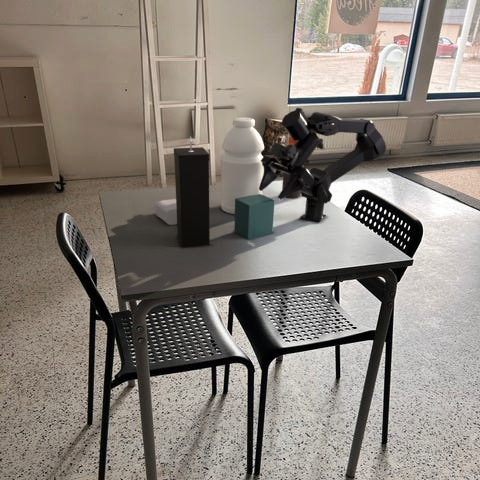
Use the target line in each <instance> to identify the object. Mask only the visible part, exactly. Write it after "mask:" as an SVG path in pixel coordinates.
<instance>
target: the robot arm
mask: <svg viewBox="0 0 480 480" xmlns="http://www.w3.org/2000/svg"><path fill="white" fill-rule="evenodd" d="M281 125H282V127H283V128H284V129H285V132H287V134H288V136H289V137H291V138H292V139H293V140H297V141H296V143H295V144H294V145H289V144H287V145H286V146H285V145H283V144H280V143H277V142H273V143H272V146H271V148H270V151H269V154H265V155H263V158H262V160H261V162H262V166H263V167H264V174H263V177H262V180H261V183H260V186H259V190H260V191H262V190H263V191H264V190H266V188H267V187H268V186H269V185H271V184H272V183H273V182H274V181H275V180H276V179H277V178H278V175H280V174H281V173H283V172H284V173H286V174H289V175H290V176H289V181H288V182H287V184H286V185H285V187H284V188H283V190H282V189H281V191H280V193H279V195H278V199H279V200H283V199H284V198H287V197H286V196H288V195H290V194H292V193H294V192H296V191H299V190H300V192H301V195H300V197H302V198H305V199H306V201H305V210H304V214H302V216H300V219H301V220H307V221H311V222H316V223H321V222H322V221H323V220H324V219H325V218H326V217H327V214H324V208H325V204H328V203H330V202H331V200H332V198H333V194H332V192H331V191H330V189H331V185H332V184H333V183H335V182H336V181H337V180H338V179H340V178H341V177H343V176H345V175H346V174H347V173H349V172H351V171H352V170H354V169H356V168H357V167H358V166H359V165H362V164H364V163H365V162H372V161H375V160H378V159H380V158H382V157H383V156H384V154H385V152H386V150H387V146H386V141H385V140H384V137H383V135H382V134H381V133H380V131H379V130H378V129H377V127H376V125H375V123H374V122H373V121H372V120H369V119H364V118H360V119H357V118H345V117H344V118H343V117H338V116H335V115H332V114H327V113H324V112H319V111H315V112H313V113H312V114H311V115H310V116H307V115H306V113H305V111H304V109H303V108H301V107H296V108H295V110H292V111H290V112H288V113H287V114H285V115H284V117H283V118H282V120H281ZM339 133H346V134H347V133H348V134H349V133H350V134H356V135H355V141H356V143H355V147H354V149H353V150H351V151H349V153H346V154H345V155H343V156H342V157H340V158H339V159H337V160H336V161H334V162H333V163H331V164H330V165H328V166H327V167H325V168H324V169H320V168H317V167H312V168H311V169H308V168H307V167H304V166H305V165H309V163H310V160H309V158H310V157H311V156H312V155H313V153H314V152H315V151H316V149H320V150H323V149H324V139H323V138H321V137H319V136H318V135H321V136H324V137H331V136H336V135H337V134H339ZM272 155H274V156H272ZM275 156H276V157H277V158H276V157H275ZM303 165H304V166H303ZM302 166H303V167H302Z"/></svg>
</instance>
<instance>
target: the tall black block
mask: <svg viewBox="0 0 480 480" xmlns="http://www.w3.org/2000/svg"><path fill="white" fill-rule="evenodd" d="M173 158H174V159H173V160H174V182H175V183H174V184H175V199H176V208H177V224H176V227H177V231H176V232H177V238H178V240H179V243H180V245H181V248H189V247H202V246H209V245H211V243H210V239H211V238H210V234H211V233H210V153H209V152H208V151H207V150H206V149H205V148H204V147H202V146H201V147H199V146H198V147H197V146H196V147H193V138H192V136H189V147H174V148H173Z"/></svg>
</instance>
